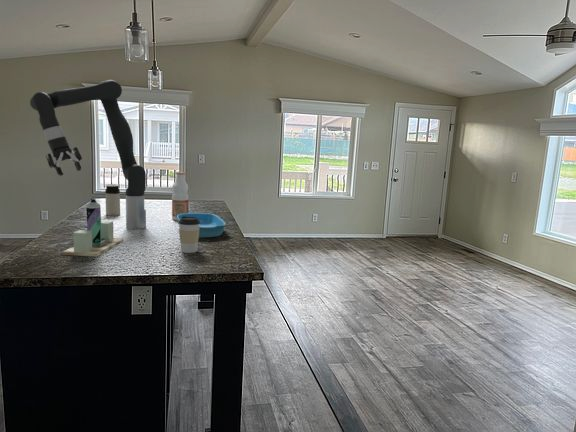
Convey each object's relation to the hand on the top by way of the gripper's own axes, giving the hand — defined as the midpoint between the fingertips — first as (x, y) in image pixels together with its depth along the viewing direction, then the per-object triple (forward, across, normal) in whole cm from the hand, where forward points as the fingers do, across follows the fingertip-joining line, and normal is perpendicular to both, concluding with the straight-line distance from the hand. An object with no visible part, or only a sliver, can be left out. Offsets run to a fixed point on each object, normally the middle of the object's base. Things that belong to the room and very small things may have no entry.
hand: (70, 172), depth 193 cm
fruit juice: (+43, +57, +12) cm, 72 cm away
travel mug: (+29, +38, +46) cm, 67 cm away
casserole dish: (+48, +43, -18) cm, 67 cm away
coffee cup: (+48, +13, -43) cm, 66 cm away
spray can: (+32, -10, -14) cm, 37 cm away
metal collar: (+32, -10, -14) cm, 37 cm away
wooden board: (+34, -10, -14) cm, 38 cm away
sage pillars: (+32, -10, -14) cm, 37 cm away
